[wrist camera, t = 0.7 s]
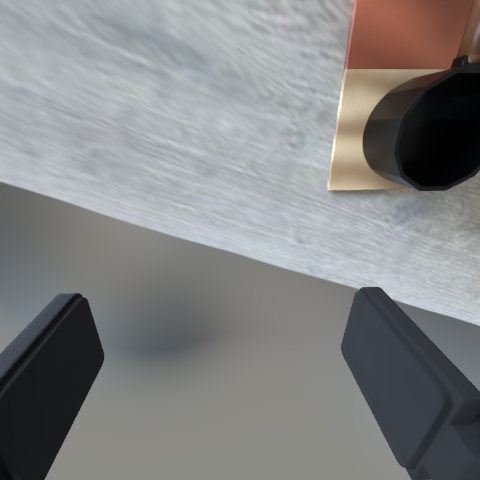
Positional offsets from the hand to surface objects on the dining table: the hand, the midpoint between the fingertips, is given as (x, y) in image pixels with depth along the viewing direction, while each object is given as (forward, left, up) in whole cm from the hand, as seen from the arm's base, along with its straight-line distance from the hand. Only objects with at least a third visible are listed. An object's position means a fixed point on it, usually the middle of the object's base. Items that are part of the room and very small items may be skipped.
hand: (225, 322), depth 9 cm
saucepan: (-11, +24, -27) cm, 38 cm away
